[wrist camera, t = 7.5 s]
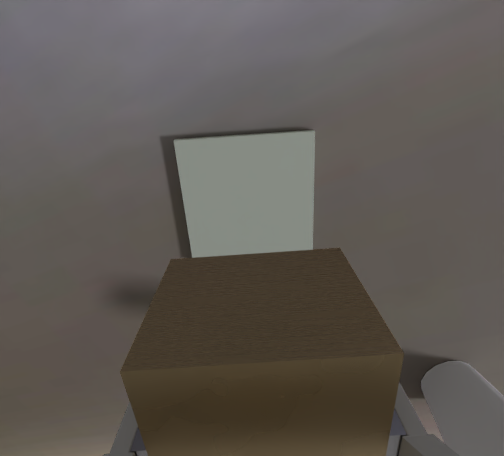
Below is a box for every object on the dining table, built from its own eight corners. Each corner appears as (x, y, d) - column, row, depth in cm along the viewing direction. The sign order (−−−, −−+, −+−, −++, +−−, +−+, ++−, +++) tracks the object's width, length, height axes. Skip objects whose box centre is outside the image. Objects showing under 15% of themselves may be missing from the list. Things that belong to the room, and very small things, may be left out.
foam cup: (499, 383, 37) (623, 522, 25) (429, 417, 39) (512, 560, 27) (468, 336, 34) (591, 470, 22) (393, 376, 36) (468, 518, 24)
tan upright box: (171, 259, 9) (119, 371, 5) (339, 247, 9) (404, 353, 5) (208, 448, 13) (193, 591, 9) (329, 440, 13) (363, 582, 9)
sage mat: (175, 139, 24) (173, 140, 24) (312, 129, 24) (314, 131, 24) (194, 259, 29) (193, 263, 28) (310, 251, 29) (312, 255, 28)
